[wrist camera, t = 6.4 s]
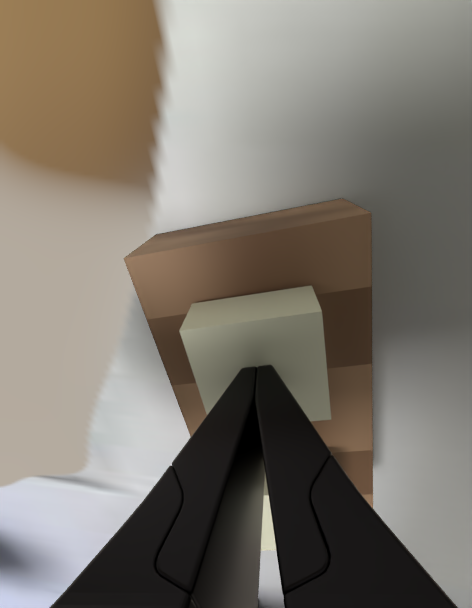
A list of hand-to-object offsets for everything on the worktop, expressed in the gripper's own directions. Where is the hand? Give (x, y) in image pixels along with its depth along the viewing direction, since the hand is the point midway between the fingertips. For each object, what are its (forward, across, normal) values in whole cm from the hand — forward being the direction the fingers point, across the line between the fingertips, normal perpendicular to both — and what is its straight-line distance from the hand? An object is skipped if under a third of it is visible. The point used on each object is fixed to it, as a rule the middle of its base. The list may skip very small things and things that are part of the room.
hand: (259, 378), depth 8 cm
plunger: (+5, 0, 0) cm, 5 cm away
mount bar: (+5, 0, +3) cm, 6 cm away
